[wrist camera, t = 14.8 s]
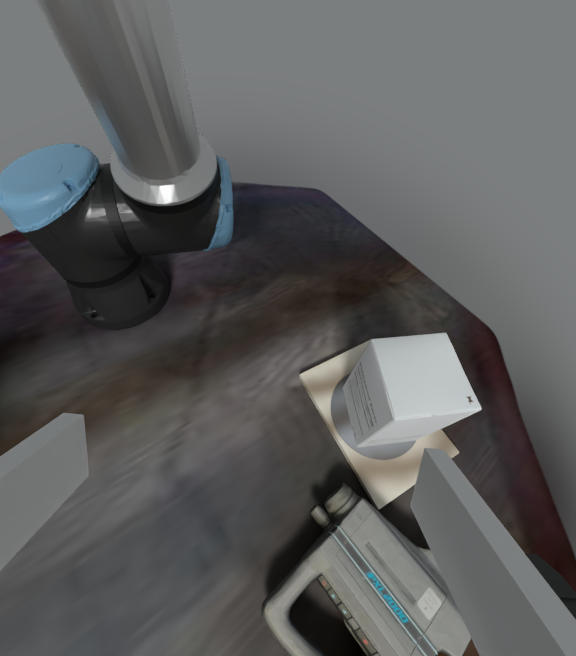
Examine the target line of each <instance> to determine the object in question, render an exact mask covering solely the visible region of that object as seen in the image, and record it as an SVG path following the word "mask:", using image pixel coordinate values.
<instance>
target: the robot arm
mask: <svg viewBox="0 0 576 656" xmlns="http://www.w3.org/2000/svg"><path fill="white" fill-rule="evenodd" d="M35 2H36V4H37V5H38V8H39V9H40V11H41V13H42V15H43V17H44V19H45V21H46V22H47V24H48V26H49V28H50V30H51V32H52V34H53V36H54V37H55V39H56V41H57V43H58V45H59V47H60V49H61V51H62V53H63V54H64V56H65V58H66V60H67V62H68V64H69V66H70V67H71V69H72V71H73V73H74V75H75V77H76V79H77V81H78V83H79V84H80V86H81V88H82V90H83V92H84V94H85V96H86V98H87V99H88V101H89V103H90V105H91V107H92V109H93V111H94V113H95V114H96V116H97V118H98V120H99V122H100V124H101V126H102V127H103V129H104V131H105V133H106V135H107V137H108V139H109V141H110V143H111V144H112V146H113V148H114V151H113V153H112V156H111V163H109V164H99V161H98V158H97V157H96V156H95V155H94V154H93V153H92V152H91V151H90V150H89V149H88V148H86V147H84V146H80V145H77V144H57V145H51V146H47V147H43V148H40V149H38V150H35V151H32V152H30V153H28V154H26V155H24V156H22V157H20V158H19V159H17V160H15V161H14V162H12V163H11V164H10V165H9V166H8V167H6V168H5V169H4V170H3V171H2V173H1V174H0V207H1V209H2V210H3V211H4V213H5V214H6V215H7V216H8V218H9V219H10V220H11V222H13V225H14V227H15V228H16V229H17V230H18V231H20V232H21V233H22V234H23V235H24V236H25V237H26V238H27V239H28V240H29V241H30V243H31V244H32V245H33V246H34V247H35V248H36V249H37V250H38V251H39V252H40V253H41V254H42V255H43V256H44V258H45V259H46V260H47V261H48V262H49V263H50V264H51V265H52V266H53V267H54V268H55V269H56V271H57V272H58V273H59V274H60V275H61V276H62V277H63V278H64V279H65V280H66V282H67V285H68V288H69V291H70V294H71V297H72V300H73V303H74V306H75V308H76V309H77V311H78V312H79V313H80V314H81V315H82V316H83V317H84V318H85V319H86V320H87V321H88V322H89V323H90V324H92V325H94V326H96V327H99V328H103V329H109V330H118V329H126V328H130V327H133V326H136V325H139V324H141V323H143V322H145V321H147V320H148V319H150V318H151V317H153V316H154V315H155V314H156V313H157V312H158V311H159V310H160V309H161V308H162V307H163V305H164V304H165V302H166V300H167V298H168V295H169V282H168V279H167V277H166V275H165V273H164V271H163V269H162V268H161V266H160V265H159V264H158V263H157V262H156V261H154V260H153V259H152V258H151V257H150V256H149V255H157V254H168V253H179V252H191V251H202V250H203V251H208V250H210V249H213V248H220V247H224V246H226V245H228V244H229V243H230V241H231V239H232V235H233V220H234V218H233V208H232V206H233V194H232V183H231V176H230V170H229V166H228V163H227V161H226V160H225V159H224V158H221V157H218V156H215V153H214V151H213V148H212V146H211V145H210V144H209V142H208V141H207V140H206V139H205V138H204V137H203V136H202V135H200V134H199V133H197V128H196V123H195V119H194V114H193V110H192V104H191V100H190V95H189V90H188V85H187V81H186V76H185V71H184V66H183V62H182V57H181V52H180V48H179V43H178V38H177V33H176V29H175V24H174V19H173V15H172V10H171V5H170V0H35ZM88 476H89V471H88V459H87V448H86V436H85V424H84V415H80V414H70V413H63V414H61V415H60V416H58V417H57V418H56V419H54V420H53V421H51V422H50V423H48V424H47V425H45V426H44V427H42V428H41V429H40V430H38V431H37V432H35V433H34V434H32V435H31V436H29V437H28V438H27V439H25V440H24V441H22V442H21V443H19V444H18V445H16V446H15V447H13V448H12V449H11V450H9V451H8V452H6V453H5V454H3V455H2V456H0V571H1V570H2V569H3V568H4V567H5V565H6V564H7V563H8V562H9V561H10V560H11V559H12V558H13V557H14V556H15V555H16V554H17V552H18V551H19V550H20V549H21V548H22V547H23V546H24V545H25V544H26V543H27V542H28V541H29V540H30V538H31V537H32V536H33V535H34V534H35V533H36V532H37V531H38V530H39V529H40V528H41V527H42V525H43V524H44V523H45V522H46V521H47V520H48V519H49V518H50V517H51V516H52V515H53V514H54V513H55V511H56V510H57V509H58V508H59V507H60V506H61V505H62V504H63V503H64V502H65V501H66V500H67V499H68V497H69V496H70V495H71V494H72V493H73V492H74V491H75V490H76V489H77V488H78V487H79V486H80V484H81V483H82V482H83V481H84V480H85V479H86V478H87V477H88ZM410 507H411V509H412V511H413V513H414V515H415V518H416V520H417V522H418V524H419V526H420V528H421V530H422V533H423V535H424V537H425V539H426V541H427V543H428V546H429V548H430V550H431V552H432V554H433V556H434V558H435V561H436V563H437V565H438V567H439V569H440V571H441V573H442V576H443V578H444V580H445V582H446V584H447V586H448V589H449V591H450V593H451V595H452V597H453V599H454V601H455V604H456V606H457V608H458V610H459V612H460V614H461V617H462V619H463V621H464V623H465V625H466V627H467V629H468V632H469V634H470V636H471V638H472V640H473V642H474V644H475V647H476V649H477V651H478V653H479V655H480V656H576V593H575V591H574V590H573V589H572V588H571V587H570V585H569V584H568V583H567V582H566V581H565V579H564V578H563V577H562V576H561V575H560V574H559V573H558V572H557V571H556V570H554V569H553V568H552V567H551V566H550V565H549V564H547V563H546V562H545V561H544V560H543V559H542V558H540V557H539V556H538V555H536V554H525V553H524V552H523V551H522V549H521V548H520V547H519V546H518V544H517V543H516V542H515V540H514V539H513V538H512V537H511V535H510V534H509V533H508V531H507V530H506V529H505V528H504V526H503V525H502V524H501V522H500V521H499V520H498V518H497V517H496V516H495V515H494V513H493V512H492V511H491V509H490V508H489V507H488V506H487V504H486V503H485V502H484V500H483V499H482V498H481V497H480V495H479V494H478V493H477V491H476V490H475V489H474V487H473V486H472V485H471V484H470V482H469V481H468V480H467V478H466V477H465V476H464V475H463V473H462V472H461V471H460V469H459V468H458V467H457V466H456V464H455V463H454V462H453V460H452V459H451V458H450V456H449V455H448V454H447V453H446V451H445V450H443V449H433V448H424V452H423V456H422V460H421V464H420V468H419V472H418V476H417V480H416V484H415V488H414V492H413V496H412V500H411V504H410Z"/></svg>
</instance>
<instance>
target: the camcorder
mask: <svg viewBox="0 0 576 656" xmlns="http://www.w3.org/2000/svg"><path fill="white" fill-rule="evenodd" d="M324 504H325V507H326V509H327V512H326V511H325V510H324V509H323V508H322V507H321V506H320V505H315V506H314V507H313V508H312V509H311V515H312V516H313V518H314V519H315V520H316V522H317V523H318V524H319V525H320V526H321V527H322V528H323V533H322V535H321V536H320V537H319V538H318V539H317V540H316V541H315V542H314V544H313V545H312V546H311V547H310V548H309V549H308V550H307V552H306V553H305V554H304V555H303V556H302V558H301V559H300V560H299V561H298V563H297V564H296V565H295V567H294V568H293V569H292V570H291V571H290V573H289V574H288V575H287V576H286V577H285V578H284V579H283V580H282V581H281V582H280V583H279V584H278V585H277V586H276V588H275V589H274V590H273V591H272V592H271V593H270V594H269V595H268V596H267V597H266V599H265V600H264V602H263V604H262V609H261V615H262V619H263V621H264V623H265V624H266V626H267V628H268V629H269V631H270V633H271V635H272V636H273V638H274V639H275V641H276V642H277V643H278V645H279V646H280V647H281V648H282V649H283V650H284V651H285V652H286V653H287V654H288V655H289V656H327V655H326V654H325V653H324V652H322V651H321V650H320V649H319V648H318V647H317V646H316V645H315V644H314V643H313V642H312V641H311V640H309V639H308V638H307V637H306V636H304V635H303V634H302V633H301V632H300V631H299V630H298V629H297V628H296V626H295V625H294V623H293V622H292V620H291V618H290V609H291V607H292V605H293V604H294V602H295V601H296V600H297V598H298V597H299V595H300V594H301V593H302V592H303V591H304V590H305V589H306V588H307V587H308V586H309V585H310V583H311V582H312V581H314V580H317V581H318V582H319V584H320V586H321V587H322V588H323V589H324V590H325V592H326V593H327V595H328V597H329V598H330V600H331V601H332V602H333V604H334V605H335V607H336V608H337V610H338V611H339V613H340V614H341V615H342V617H343V619H344V623H345V625H346V627H347V628H348V630H349V631H350V633H351V634H352V636H353V637H354V638H355V640H356V641H357V643H358V644H359V645H360V647H361V648H362V650H363V652H364V653H365V655H366V656H437V654H438V653H439V652H443V653H445V654H447V655H448V656H463V654H464V652H465V650H466V648H467V646H468V644H469V643H470V641H471V639H472V638H471V636H470V634H469V632H468V629H467V627H466V625H465V623H464V621H463V619H462V617H461V614H460V612H459V610H458V608H457V606H456V604H455V601H454V599H453V597H452V595H451V593H450V591H449V589H448V586H447V584H446V582H445V580H444V578H443V576H442V573H441V571H440V569H439V567H438V565H437V563H436V561H435V558H434V556H433V554H432V552H431V550H430V549H427V548H423V547H420V546H417V545H416V544H414V543H413V542H412V541H410V540H409V539H408V538H407V537H406V536H404V535H403V534H402V533H401V532H400V531H399V530H398V529H397V528H396V527H395V526H394V525H393V524H392V523H391V522H389V521H388V520H387V519H386V518H385V517H384V516H383V515H382V514H381V513H380V512H379V511H378V510H377V509H375V508H374V507H373V506H372V505H371V504H370V503H369V502H368V501H367V500H366V499H364V498H363V497H359V496H358V495H357V494H356V493H355V492H354V491H353V490H352V489H351V488H350V487H349V486H348V485H346V484H345V483H342V484H341V485H340V486H339V487H338V488H337V489H336V490H335V491H333V492H332V493H331V494H330V495H329V496H328V497H327V498H326V500H325V503H324Z"/></svg>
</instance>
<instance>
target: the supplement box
mask: <svg viewBox="0 0 576 656" xmlns="http://www.w3.org/2000/svg"><path fill="white" fill-rule="evenodd" d="M343 392H344V396H345V400H346V405H347V409H348V413H349V418H350V422H351V426H352V431H353V435H354V439H355V443H356V447H367V446H376V445H384V444H392V443H400V442H408V441H416V440H419V439H421V438H423V437H425V436H427V435H429V434H431V433H434V432H436V431H438V430H440V429H442V428H444V427H446V426H448V425H450V424H453V423H455V422H457V421H459V420H461V419H463V418H465V417H467V416H470V415H472V414H474V413H476V412H478V411H480V410H482V409H481V406H480V404H479V402H478V400H477V398H476V396H475V394H474V392H473V390H472V388H471V386H470V383H469V381H468V379H467V377H466V375H465V373H464V371H463V368H462V366H461V364H460V362H459V360H458V357H457V355H456V353H455V350H454V348H453V346H452V344H451V342H450V340H449V338H448V336H447V334H446V333H437V334H425V335H413V336H401V337H390V338H379V339H371V340H370V342H369V344H368V345H367V347H366V349H365V350H364V352H363V354H362V356H361V357H360V359H359V361H358V362H357V364H356V366H355V367H354V369H353V371H352V372H351V374H350V376H349V378H348V379H347V381H346V383H345V384H344V386H343Z"/></svg>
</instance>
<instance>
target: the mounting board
mask: <svg viewBox="0 0 576 656" xmlns="http://www.w3.org/2000/svg"><path fill="white" fill-rule="evenodd" d="M369 342H370V340H369V341H367V342H365V343H363V344H361V345H358V346H356V347H354V348H352V349H350V350H348V351H346V352H344V353H342V354H340V355H338V356H336V357H334V358H332V359H330V360H328V361H326V362H324V363H322V364H320V365H318V366H316V367H314V368H312V369H309V370H307V371H305V372H303V373H301V374H299V378H300V380H301V382H302V384H303V385H304V387H305V389H306V390H307V392H308V394H309V396H310V397H311V399H312V401H313V403H314V404H315V406H316V408H317V409H318V411H319V413H320V415H321V416H322V418H323V420H324V421H325V423H326V425H327V427H328V428H329V430H330V432H331V433H332V435H333V437H334V439H335V440H336V442H337V444H338V445H339V447H340V449H341V451H342V452H343V454H344V456H345V457H346V459H347V461H348V463H349V464H350V466H351V468H352V469H353V471H354V473H355V475H356V476H357V478H358V480H359V481H360V483H361V485H362V487H363V488H364V490H365V492H366V493H367V495H368V497H369V499H370V500H371V502H372V504H373V506H374V507H375V509H377V510H379V509H381V508H382V507H383V506H385V505H386V504H388V503H389V502H391V501H392V500H393V499H395V498H396V497H398V496H399V495H400V494H402V493H403V492H405V491H406V490H408V489H409V488H410V487H412V486H413V485H415V484H416V480H417V476H418V472H419V468H420V464H421V460H422V456H423V452H424V448H433V449H443V450H445V451H446V453H447V454H448V455H449V456H450V458H453V457H454V456H456V455H457V454H458V453H459V451H458V450H457V449H456V447H455V446H454V445H453V443H452V442H451V441H450V440H449V438H448V437H447V436H446V434H445V433H444V432H443V430H442V429H440V430H438V431H436V432H434V433H431V434H429V435H427V436H425V437H423V438H421V439H419V440H416V441H408V442H400V443H392V444H384V445H376V446H367V447H356V443H355V439H354V435H353V431H352V426H351V422H350V418H349V413H348V409H347V405H346V400H345V396H344V392H343V386H344V384H345V383H346V381H347V379H348V378H349V376H350V374H351V372H352V371H353V369H354V367H355V366H356V364H357V362H358V361H359V359H360V357H361V356H362V354H363V352H364V350H365V349H366V347H367V345H368V344H369Z"/></svg>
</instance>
